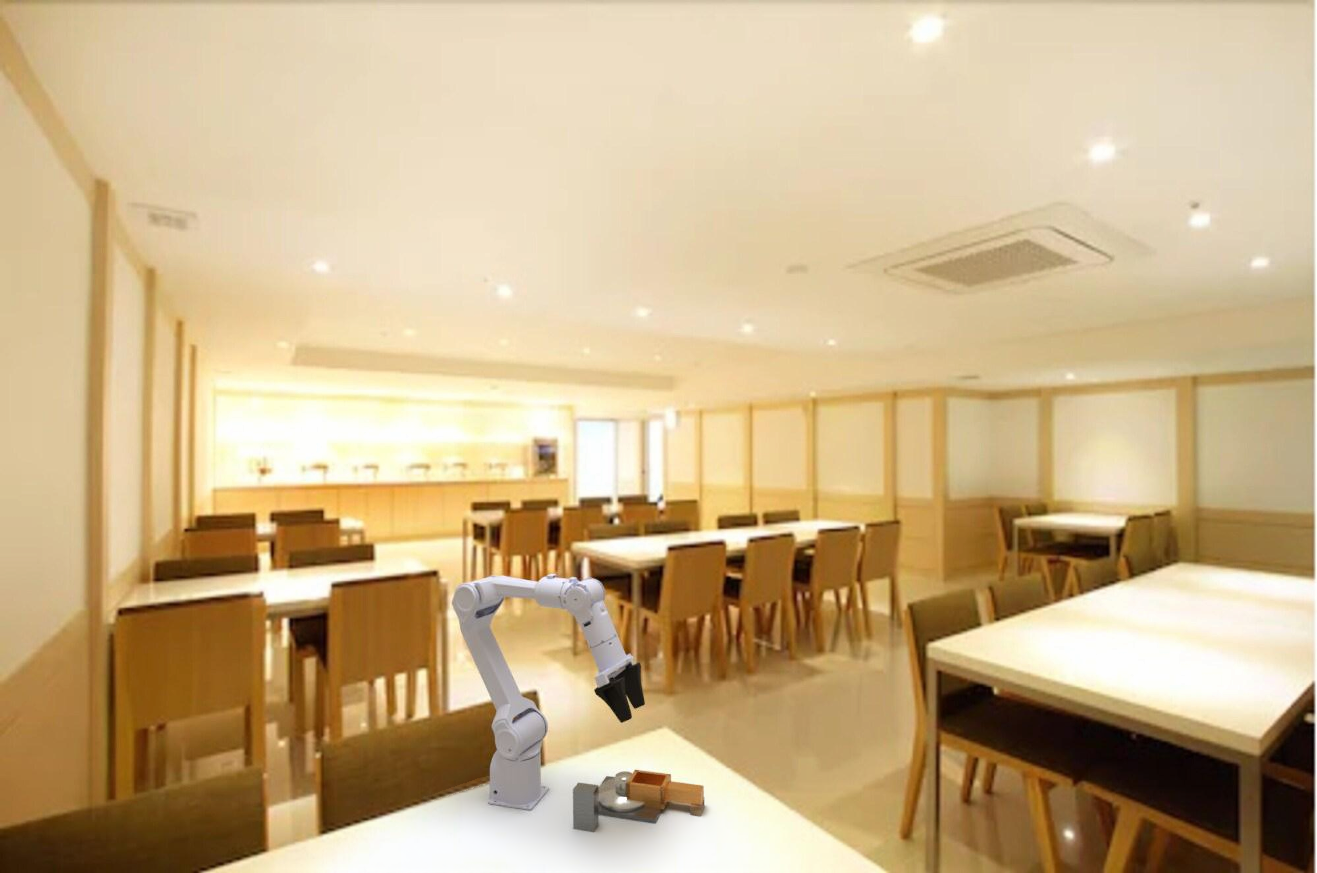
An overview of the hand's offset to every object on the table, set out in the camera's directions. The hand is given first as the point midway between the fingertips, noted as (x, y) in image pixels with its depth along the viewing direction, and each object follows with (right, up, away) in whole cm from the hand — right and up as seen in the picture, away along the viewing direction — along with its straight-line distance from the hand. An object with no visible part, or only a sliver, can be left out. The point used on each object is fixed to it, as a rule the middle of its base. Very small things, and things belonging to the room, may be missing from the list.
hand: (633, 713), depth 112 cm
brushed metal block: (-9, -20, 0) cm, 22 cm away
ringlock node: (+3, -21, +7) cm, 22 cm away
